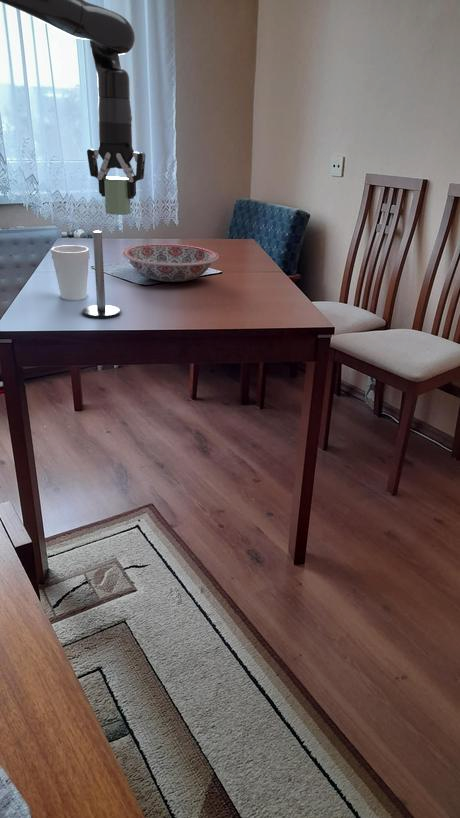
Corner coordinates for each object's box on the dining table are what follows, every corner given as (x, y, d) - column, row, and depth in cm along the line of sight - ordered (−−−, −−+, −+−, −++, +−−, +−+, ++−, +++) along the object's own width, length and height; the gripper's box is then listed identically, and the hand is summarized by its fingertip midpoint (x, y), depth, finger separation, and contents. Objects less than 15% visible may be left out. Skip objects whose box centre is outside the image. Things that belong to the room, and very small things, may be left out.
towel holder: (112, 322, 133) (108, 236, 124) (77, 318, 134) (70, 233, 125) (125, 311, 141) (122, 230, 132) (91, 307, 142) (86, 227, 133)
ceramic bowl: (227, 291, 163) (228, 264, 159) (127, 292, 156) (126, 264, 152) (206, 268, 188) (207, 244, 184) (119, 268, 181) (118, 243, 177)
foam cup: (79, 305, 143) (75, 254, 137) (48, 300, 146) (43, 250, 140) (98, 296, 151) (95, 247, 145) (69, 291, 154) (65, 243, 148)
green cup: (126, 215, 134) (125, 180, 131) (101, 213, 135) (100, 178, 131) (134, 212, 140) (133, 178, 136) (110, 210, 140) (109, 176, 137)
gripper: (78, 118, 126) (83, 196, 133) (139, 122, 124) (141, 201, 132) (91, 119, 132) (95, 193, 140) (149, 122, 131) (150, 198, 138)
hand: (117, 197), depth 136 cm, fingers closed on green cup, 6 cm apart
